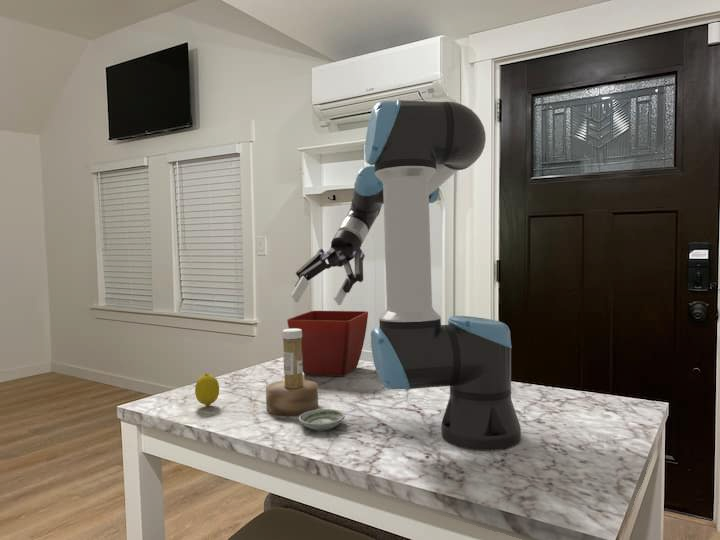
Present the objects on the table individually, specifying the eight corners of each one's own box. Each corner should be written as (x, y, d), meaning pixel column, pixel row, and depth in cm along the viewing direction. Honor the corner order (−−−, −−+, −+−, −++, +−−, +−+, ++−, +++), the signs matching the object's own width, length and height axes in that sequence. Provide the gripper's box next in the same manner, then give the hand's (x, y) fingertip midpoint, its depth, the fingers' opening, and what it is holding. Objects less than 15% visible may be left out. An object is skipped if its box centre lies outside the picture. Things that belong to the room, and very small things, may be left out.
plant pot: (287, 377, 153) (285, 318, 152) (313, 362, 171) (312, 310, 170) (350, 381, 147) (348, 320, 146) (370, 365, 165) (369, 311, 164)
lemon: (213, 410, 123) (211, 376, 123) (191, 409, 124) (189, 376, 124) (223, 403, 129) (222, 370, 128) (202, 402, 130) (201, 370, 129)
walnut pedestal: (328, 404, 126) (328, 383, 126) (294, 419, 116) (293, 396, 116) (290, 397, 133) (290, 377, 132) (255, 410, 123) (254, 388, 123)
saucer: (331, 416, 118) (331, 405, 118) (353, 429, 110) (353, 417, 110) (291, 424, 113) (291, 413, 113) (311, 439, 105) (310, 427, 105)
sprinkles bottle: (306, 387, 123) (305, 329, 122) (288, 390, 121) (286, 331, 120) (298, 382, 127) (297, 327, 126) (280, 385, 125) (279, 329, 124)
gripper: (394, 247, 137) (363, 312, 126) (319, 248, 151) (285, 306, 140) (383, 226, 133) (349, 292, 121) (307, 229, 147) (270, 288, 135)
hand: (314, 300), depth 131 cm, fingers open, 13 cm apart
